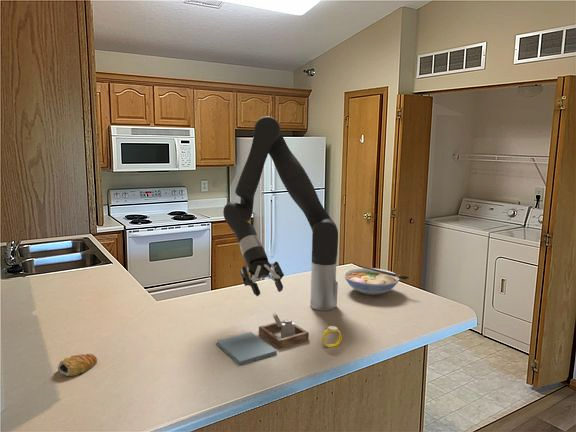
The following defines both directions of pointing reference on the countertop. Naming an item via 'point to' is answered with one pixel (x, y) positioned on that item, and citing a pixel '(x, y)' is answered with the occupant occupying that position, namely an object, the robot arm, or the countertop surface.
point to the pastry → (77, 364)
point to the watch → (332, 329)
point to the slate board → (246, 348)
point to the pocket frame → (299, 337)
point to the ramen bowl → (372, 280)
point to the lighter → (285, 327)
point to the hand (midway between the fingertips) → (269, 292)
